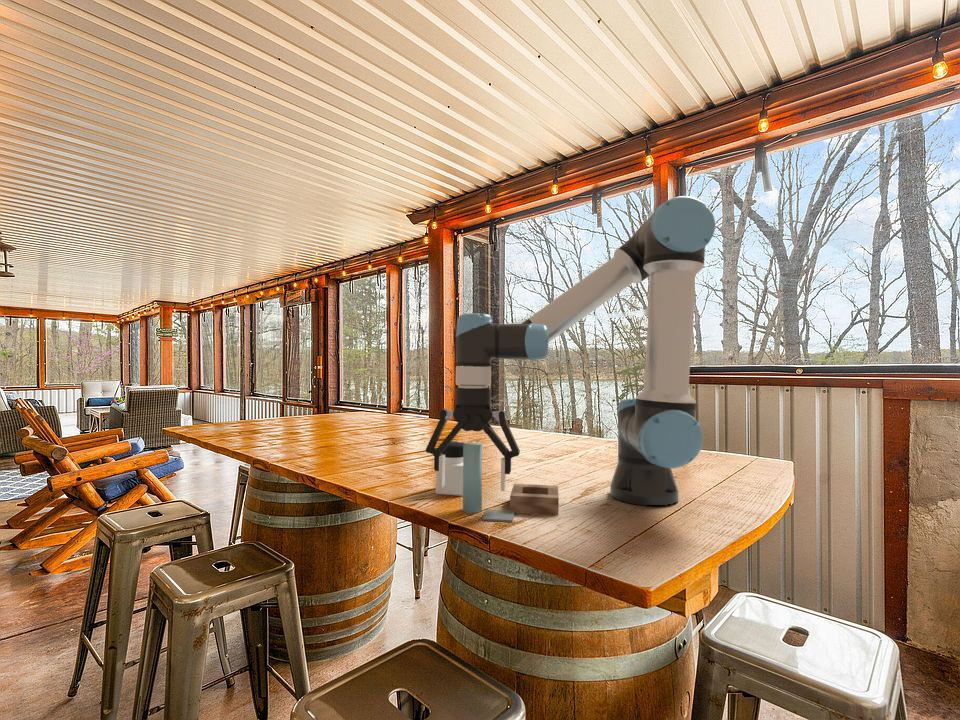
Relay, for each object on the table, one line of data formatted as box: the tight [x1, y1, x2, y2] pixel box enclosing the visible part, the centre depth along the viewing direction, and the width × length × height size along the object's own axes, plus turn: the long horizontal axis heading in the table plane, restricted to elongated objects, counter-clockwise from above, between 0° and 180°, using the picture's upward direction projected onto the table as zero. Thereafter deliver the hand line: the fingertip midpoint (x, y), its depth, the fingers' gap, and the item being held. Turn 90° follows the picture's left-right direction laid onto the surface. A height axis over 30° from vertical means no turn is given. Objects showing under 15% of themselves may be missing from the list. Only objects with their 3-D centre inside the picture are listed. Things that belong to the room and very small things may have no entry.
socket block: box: [509, 483, 560, 516], centre depth 102 cm, size 10×10×4 cm
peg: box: [462, 442, 483, 514], centre depth 99 cm, size 4×4×14 cm
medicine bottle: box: [435, 440, 465, 497], centre depth 114 cm, size 7×7×12 cm
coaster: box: [481, 508, 516, 523], centre depth 95 cm, size 6×6×1 cm
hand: (472, 488), depth 99 cm, fingers open, 12 cm apart
